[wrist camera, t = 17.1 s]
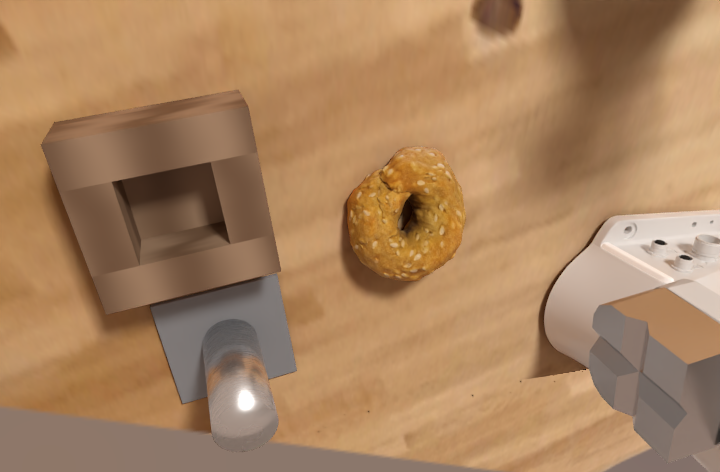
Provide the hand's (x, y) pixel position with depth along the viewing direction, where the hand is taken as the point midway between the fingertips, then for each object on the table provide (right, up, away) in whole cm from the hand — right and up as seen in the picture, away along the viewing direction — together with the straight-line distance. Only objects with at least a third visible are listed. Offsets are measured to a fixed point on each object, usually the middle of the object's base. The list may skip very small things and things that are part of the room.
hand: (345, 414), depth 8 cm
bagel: (+3, +5, +40) cm, 41 cm away
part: (-11, -6, +40) cm, 42 cm away
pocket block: (-13, +6, +33) cm, 36 cm away
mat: (-11, -6, +40) cm, 42 cm away
